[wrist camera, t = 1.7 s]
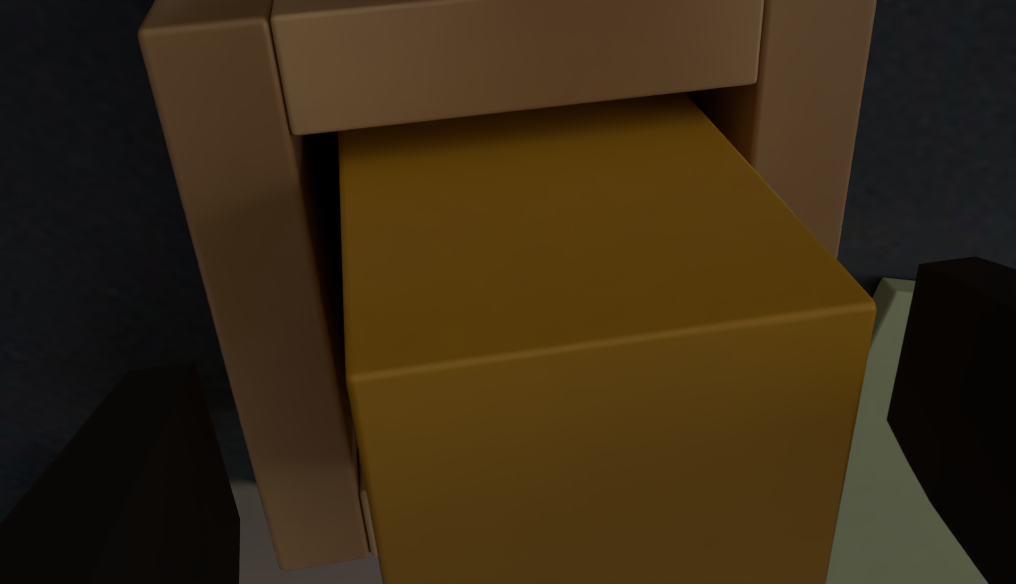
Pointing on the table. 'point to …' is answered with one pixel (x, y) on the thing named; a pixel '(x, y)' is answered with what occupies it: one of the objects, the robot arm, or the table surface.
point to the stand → (424, 97)
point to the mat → (889, 481)
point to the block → (592, 352)
